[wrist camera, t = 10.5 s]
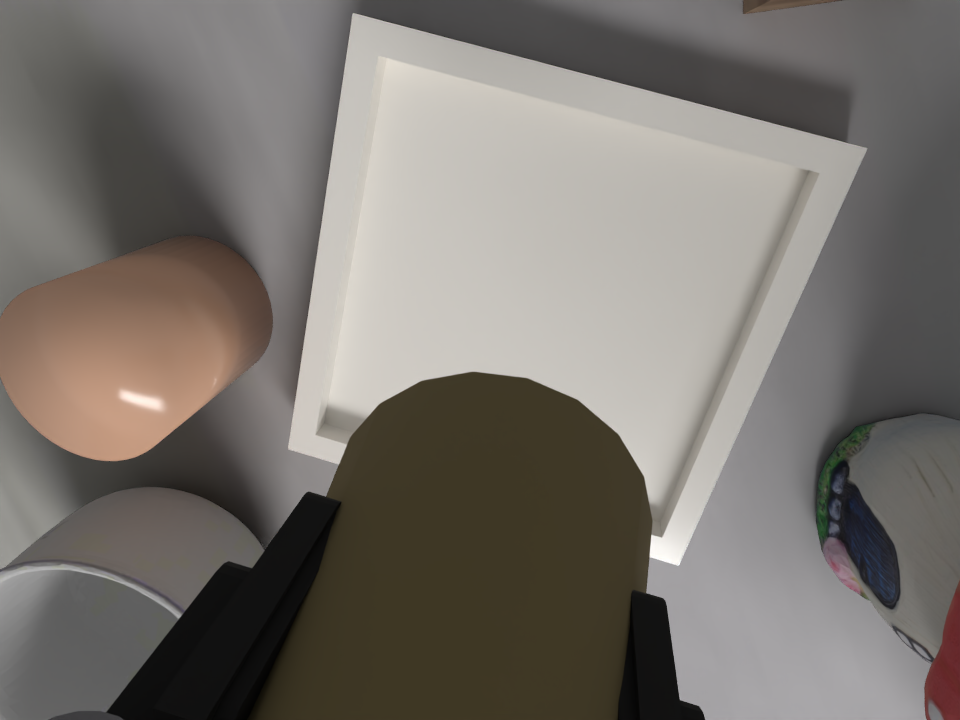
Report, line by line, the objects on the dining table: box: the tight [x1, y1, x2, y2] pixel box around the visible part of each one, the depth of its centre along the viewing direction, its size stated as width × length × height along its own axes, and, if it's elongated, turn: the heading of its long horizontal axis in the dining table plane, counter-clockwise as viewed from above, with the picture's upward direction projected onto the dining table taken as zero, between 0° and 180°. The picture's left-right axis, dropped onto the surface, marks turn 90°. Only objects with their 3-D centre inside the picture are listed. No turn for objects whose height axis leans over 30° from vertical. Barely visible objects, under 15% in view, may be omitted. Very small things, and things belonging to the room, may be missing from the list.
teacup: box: [0, 487, 265, 720], centre depth 29 cm, size 14×11×8 cm
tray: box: [288, 13, 867, 566], centre depth 25 cm, size 16×16×2 cm
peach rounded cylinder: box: [0, 236, 273, 461], centre depth 24 cm, size 6×6×7 cm
